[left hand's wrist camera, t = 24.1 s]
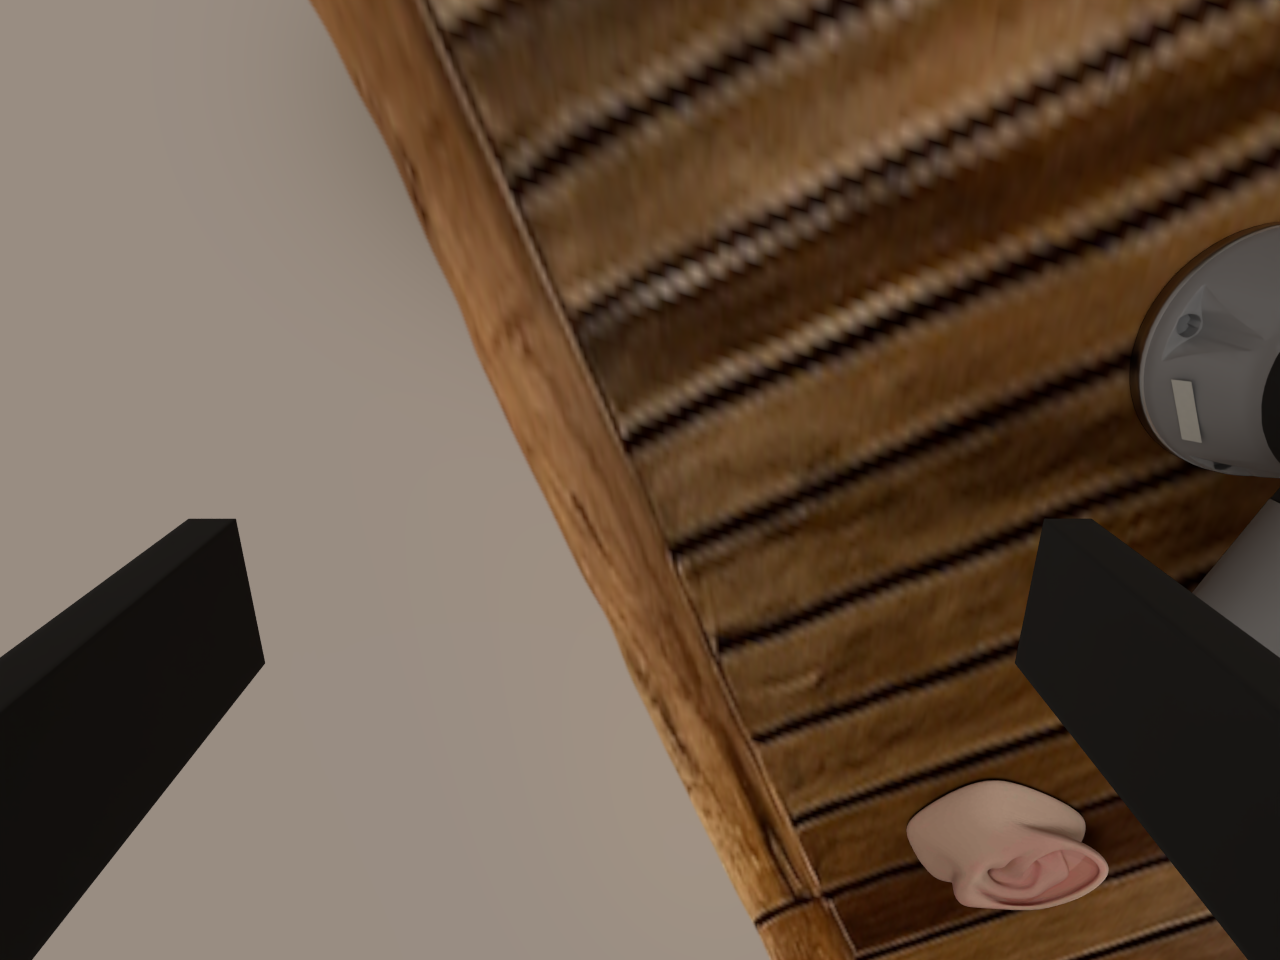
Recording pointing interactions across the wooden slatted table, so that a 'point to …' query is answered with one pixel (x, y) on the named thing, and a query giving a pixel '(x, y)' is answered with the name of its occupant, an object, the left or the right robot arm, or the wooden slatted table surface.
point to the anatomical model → (1006, 847)
